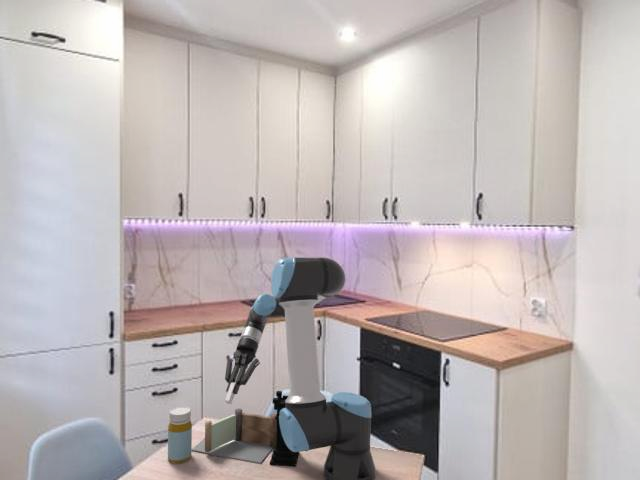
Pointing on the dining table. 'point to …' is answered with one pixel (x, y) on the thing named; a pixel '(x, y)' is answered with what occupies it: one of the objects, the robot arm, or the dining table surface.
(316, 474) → the dining table surface
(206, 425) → the fence panel
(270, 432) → the walnut fence section
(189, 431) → the bottle
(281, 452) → the chess piece
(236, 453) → the board
